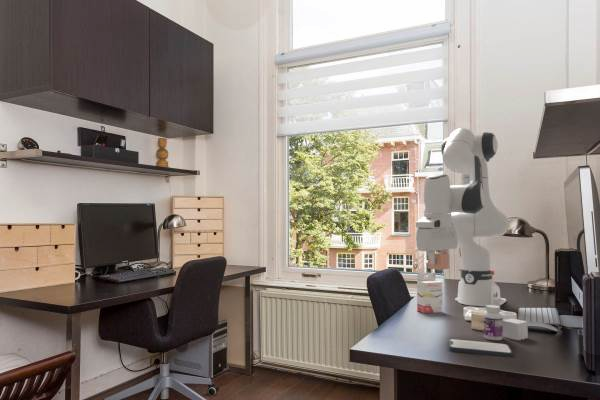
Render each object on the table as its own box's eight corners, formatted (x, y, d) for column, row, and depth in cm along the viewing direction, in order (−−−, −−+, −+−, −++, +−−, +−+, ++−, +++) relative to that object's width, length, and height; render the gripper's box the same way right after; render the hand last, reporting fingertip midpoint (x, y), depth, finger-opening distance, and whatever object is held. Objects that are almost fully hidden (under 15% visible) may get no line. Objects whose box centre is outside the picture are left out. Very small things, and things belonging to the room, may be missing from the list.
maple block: (474, 325, 147) (474, 310, 147) (490, 327, 144) (490, 312, 144) (471, 329, 143) (471, 313, 143) (487, 331, 140) (487, 315, 140)
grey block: (512, 334, 136) (511, 318, 136) (527, 338, 132) (527, 321, 132) (502, 336, 133) (502, 320, 134) (518, 340, 129) (517, 323, 129)
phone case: (508, 349, 123) (448, 343, 127) (508, 344, 123) (448, 338, 127) (513, 359, 114) (449, 353, 119) (513, 353, 114) (449, 347, 119)
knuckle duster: (455, 320, 155) (469, 313, 167) (510, 329, 144) (520, 320, 155) (455, 311, 156) (469, 304, 167) (509, 318, 144) (520, 311, 155)
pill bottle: (479, 336, 133) (479, 305, 134) (493, 335, 135) (492, 303, 135) (493, 341, 128) (492, 308, 129) (507, 339, 130) (506, 307, 130)
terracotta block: (435, 267, 149) (435, 252, 149) (449, 268, 146) (448, 253, 146) (427, 268, 146) (427, 253, 146) (441, 269, 142) (441, 254, 142)
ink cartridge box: (424, 313, 165) (423, 274, 166) (416, 311, 170) (416, 273, 170) (443, 312, 168) (442, 273, 168) (435, 309, 173) (435, 272, 173)
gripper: (445, 221, 156) (445, 260, 155) (412, 222, 142) (413, 265, 141) (461, 221, 151) (462, 262, 150) (429, 222, 137) (430, 266, 137)
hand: (438, 263), depth 146 cm, fingers closed on terracotta block, 5 cm apart
